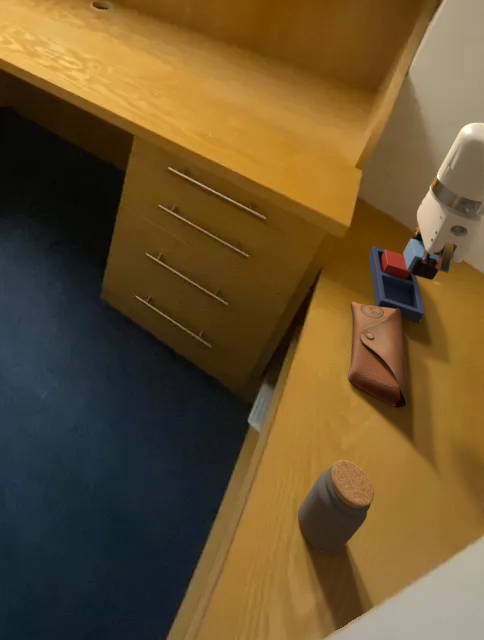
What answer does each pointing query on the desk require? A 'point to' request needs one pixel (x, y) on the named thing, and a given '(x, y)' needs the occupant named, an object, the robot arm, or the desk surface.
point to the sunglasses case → (378, 353)
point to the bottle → (335, 506)
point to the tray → (395, 290)
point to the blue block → (414, 253)
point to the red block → (394, 264)
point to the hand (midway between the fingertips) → (418, 264)
